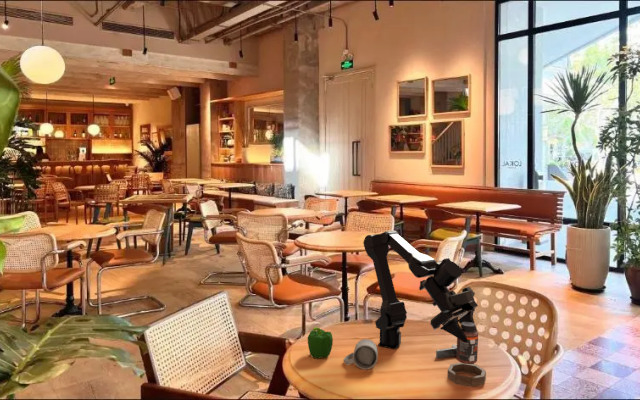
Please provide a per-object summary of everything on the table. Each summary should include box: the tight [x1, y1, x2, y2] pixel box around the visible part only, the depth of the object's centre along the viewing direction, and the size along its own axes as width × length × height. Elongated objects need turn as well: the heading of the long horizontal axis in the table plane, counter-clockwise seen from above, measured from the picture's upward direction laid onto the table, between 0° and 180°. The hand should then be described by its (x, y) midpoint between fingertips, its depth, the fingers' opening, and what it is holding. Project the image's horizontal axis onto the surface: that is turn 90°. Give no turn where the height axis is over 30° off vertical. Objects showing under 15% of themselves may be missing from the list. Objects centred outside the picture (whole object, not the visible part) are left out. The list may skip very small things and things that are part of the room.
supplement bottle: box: [456, 322, 479, 365], centre depth 152 cm, size 6×6×11 cm
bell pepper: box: [307, 326, 334, 359], centre depth 169 cm, size 8×8×10 cm
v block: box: [435, 344, 457, 359], centre depth 168 cm, size 8×12×2 cm, turn 65°
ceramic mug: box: [343, 338, 379, 370], centre depth 162 cm, size 11×8×8 cm
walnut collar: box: [446, 362, 487, 388], centre depth 153 cm, size 10×10×2 cm
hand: (472, 338), depth 151 cm, fingers closed on supplement bottle, 6 cm apart
